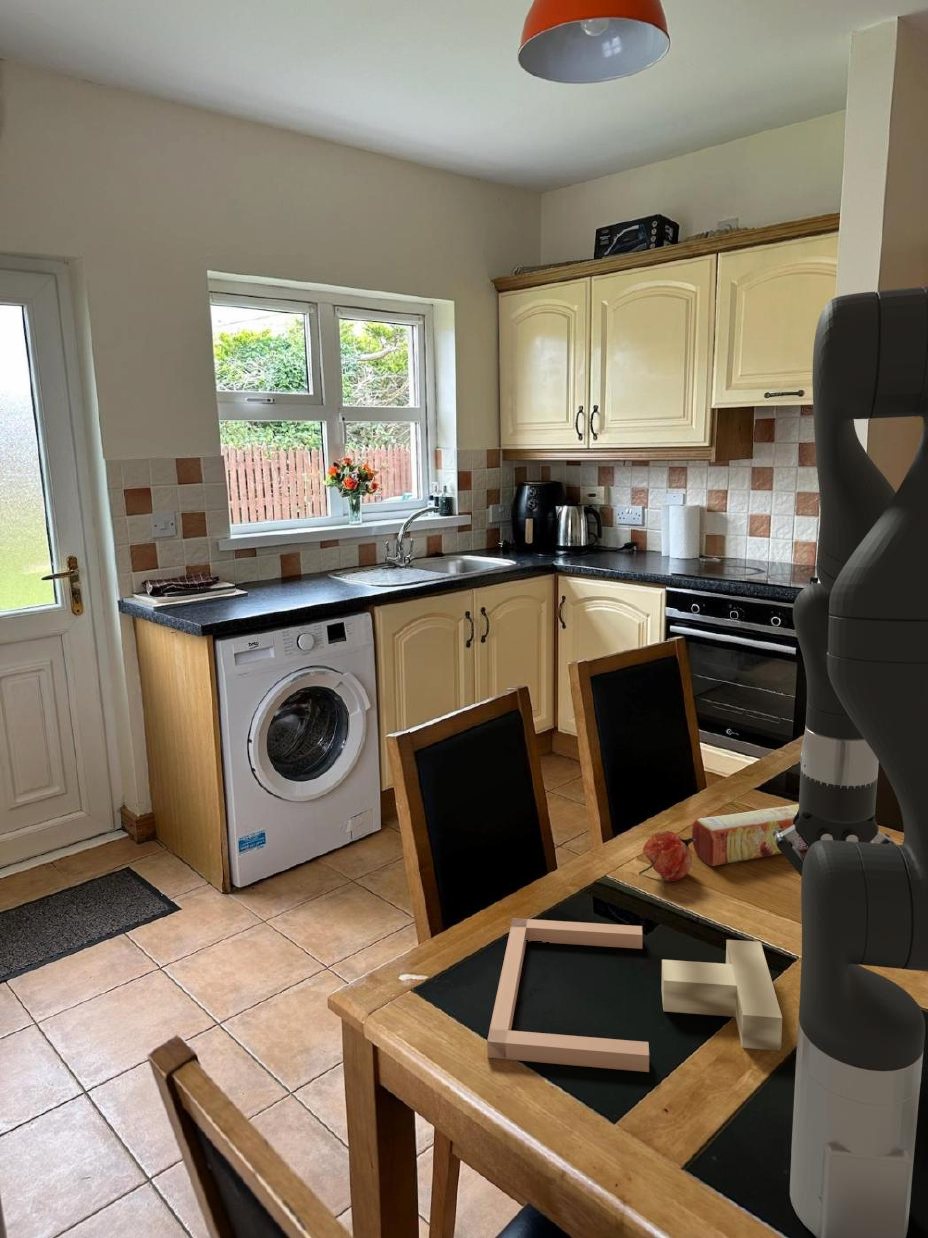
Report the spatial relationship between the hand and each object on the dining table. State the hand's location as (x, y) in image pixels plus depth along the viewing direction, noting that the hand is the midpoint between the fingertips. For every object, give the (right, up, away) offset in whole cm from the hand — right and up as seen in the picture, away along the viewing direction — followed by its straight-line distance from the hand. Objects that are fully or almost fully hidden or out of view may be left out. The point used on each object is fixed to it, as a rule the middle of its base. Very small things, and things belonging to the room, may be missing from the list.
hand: (829, 914), depth 95 cm
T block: (-11, -12, +4) cm, 17 cm away
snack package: (+6, -4, +40) cm, 41 cm away
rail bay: (-27, -12, +7) cm, 30 cm away
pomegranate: (-10, -6, +33) cm, 35 cm away
